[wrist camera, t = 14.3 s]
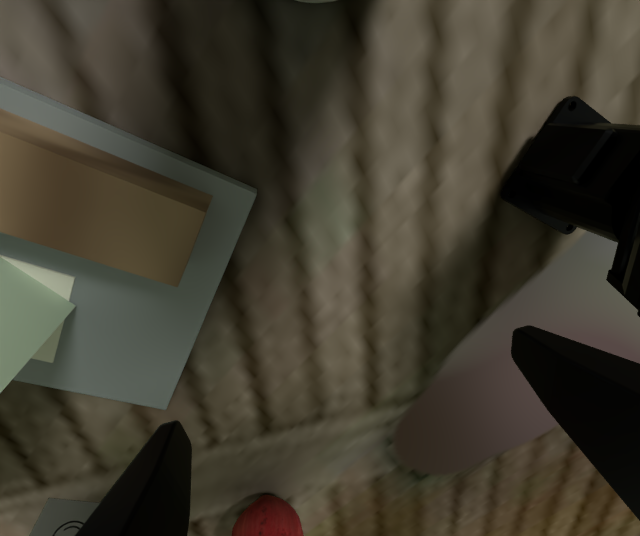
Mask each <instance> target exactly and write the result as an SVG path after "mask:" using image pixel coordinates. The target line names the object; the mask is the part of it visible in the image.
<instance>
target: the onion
mask: <svg viewBox="0 0 640 536" xmlns="http://www.w3.org/2000/svg"><path fill="white" fill-rule="evenodd" d="M232 536H304V535H303V531H302V527H301V523H300V519H299V516H298V515H297V513H296V512H295V510H294V509H293V508H292V507H291V506H290V505H289V504H288V503H287V502H285V501H284V500H283V499H280V498H277V497H274V496H271V495H262V496H260V497H259V498H258V499H257V500H256V501H255V502H253V503H252V504H251V505H250V506H249V507H248V508H247V509H246V510H245V511H244V512H243V513H242V514H241V515H240V517H239V518H238V519H237V521H236V523H235V525H234V527H233V531H232Z"/></svg>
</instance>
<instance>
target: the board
mask: <svg viewBox="0 0 640 536" xmlns="http://www.w3.org/2000/svg"><path fill="white" fill-rule="evenodd" d="M0 108H1V109H3V110H6V111H8V112H11V113H13V114H15V115H18V116H20V117H23V118H25V119H28V120H30V121H32V122H35V123H37V124H40V125H42V126H45V127H47V128H49V129H52V130H54V131H57V132H59V133H62V134H64V135H66V136H69V137H71V138H74V139H76V140H79V141H81V142H83V143H86V144H88V145H91V146H93V147H95V148H98V149H100V150H103V151H105V152H108V153H110V154H112V155H115V156H117V157H120V158H122V159H125V160H127V161H129V162H132V163H134V164H137V165H139V166H142V167H144V168H146V169H149V170H151V171H154V172H156V173H159V174H161V175H163V176H166V177H168V178H171V179H173V180H176V181H178V182H180V183H183V184H185V185H188V186H190V187H192V188H195V189H197V190H200V191H202V192H205V193H207V194H209V195H212V196H213V197H212V200H211V203H210V205H209V208H208V211H207V213H206V216H205V219H204V221H203V224H202V226H201V229H200V232H199V234H198V237H197V240H196V242H195V245H194V248H193V250H192V253H191V256H190V258H189V261H188V263H187V266H186V268H185V271H184V273H183V276H182V278H181V281H180V283H179V285H178V287H174V286H171V285H168V284H165V283H162V282H158V281H155V280H152V279H149V278H146V277H142V276H139V275H136V274H133V273H130V272H126V271H123V270H120V269H117V268H114V267H110V266H107V265H104V264H101V263H98V262H94V261H91V260H88V259H85V258H82V257H78V256H75V255H72V254H69V253H66V252H62V251H59V250H56V249H53V248H50V247H46V246H43V245H40V244H37V243H34V242H30V241H27V240H24V239H21V238H18V237H15V236H11V235H8V234H5V233H2V232H0V257H1V258H3V259H5V260H6V261H8V262H9V263H11V264H12V265H14V266H15V267H17V268H18V269H20V270H22V271H23V272H25V273H26V274H28V275H29V276H31V277H32V278H34V279H35V280H37V281H39V282H40V283H42V284H43V285H45V286H46V287H48V288H49V289H51V290H52V291H54V292H56V293H57V294H59V295H60V296H62V297H63V298H65V299H66V300H68V301H69V302H71V303H73V304H74V305H76V307H75V308H74V309H73V310H72V311H71V312H70V313H69V315H68V316H67V317H66V318H65V319H64V320H63V322H62V323H61V324H60V325H59V326H58V327H57V328H56V330H55V331H54V332H53V333H52V334H51V335H50V337H49V338H48V339H47V340H46V341H45V342H44V343H43V345H42V346H41V347H40V348H39V349H38V350H37V351H36V353H35V354H34V355H33V356H32V357H31V358H30V360H29V361H28V362H27V363H26V364H25V365H24V366H23V368H22V369H21V370H20V371H19V372H18V373H17V375H16V376H15V377H14V378H13V379H12V380H15V381H20V382H25V383H30V384H36V385H41V386H46V387H51V388H56V389H61V390H66V391H71V392H76V393H81V394H87V395H92V396H97V397H102V398H107V399H112V400H117V401H122V402H127V403H132V404H138V405H143V406H148V407H153V408H158V409H163V410H166V409H167V406H168V404H169V402H170V399H171V397H172V395H173V392H174V390H175V387H176V385H177V383H178V380H179V378H180V376H181V373H182V371H183V368H184V366H185V364H186V361H187V359H188V357H189V354H190V352H191V350H192V347H193V345H194V342H195V340H196V338H197V335H198V333H199V331H200V328H201V326H202V323H203V321H204V319H205V316H206V314H207V312H208V309H209V307H210V304H211V302H212V300H213V297H214V295H215V293H216V290H217V288H218V285H219V283H220V281H221V278H222V276H223V274H224V271H225V269H226V267H227V264H228V262H229V259H230V257H231V255H232V252H233V250H234V248H235V245H236V243H237V240H238V238H239V236H240V233H241V231H242V229H243V226H244V224H245V221H246V219H247V217H248V214H249V212H250V210H251V207H252V205H253V202H254V200H255V198H256V195H257V189H256V188H253V187H251V186H249V185H246V184H244V183H242V182H240V181H237V180H235V179H233V178H230V177H228V176H226V175H224V174H221V173H219V172H217V171H214V170H212V169H210V168H208V167H205V166H203V165H201V164H198V163H196V162H194V161H192V160H189V159H187V158H185V157H183V156H180V155H178V154H176V153H173V152H171V151H169V150H167V149H164V148H162V147H160V146H157V145H155V144H153V143H151V142H148V141H146V140H144V139H141V138H139V137H137V136H135V135H132V134H130V133H128V132H125V131H123V130H121V129H119V128H116V127H114V126H112V125H109V124H107V123H105V122H103V121H100V120H98V119H96V118H93V117H91V116H89V115H87V114H84V113H82V112H80V111H77V110H75V109H73V108H71V107H68V106H66V105H64V104H61V103H59V102H57V101H55V100H52V99H50V98H48V97H45V96H43V95H41V94H39V93H36V92H34V91H32V90H29V89H27V88H25V87H23V86H20V85H18V84H16V83H13V82H11V81H9V80H7V79H4V78H2V77H0Z"/></svg>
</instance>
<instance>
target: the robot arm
mask: <svg viewBox="0 0 640 536" xmlns="http://www.w3.org/2000/svg"><path fill="white" fill-rule="evenodd" d="M570 103H571V106H570V108H569V109H568V106H569V104H570ZM510 191H512V194H511V195H510V196H509V193H510ZM501 197H502V199H503V200H505V201H507V202H508V203H510V204H512V205H514V206H515V207H517V208H519V209H521V210H522V211H524V212H526V213H528V214H529V215H531V216H533V217H535V218H536V219H538V220H540V221H542V222H544V223H545V224H547V225H549V226H551V227H552V228H554V229H556V230H558V231H559V232H561V233H564V234H570V233H572V232H573V231H574V230H575V229H576V228H577V227H578V228H581V229H584V230H586V231H589V232H591V233H594V234H597V235H599V236H602V237H604V238H607V239H609V240H612V241H614V242H617V243H618V245H617V249H616V253H615V257H614V261H613V265H612V268H611V270H609V271H608V275H607V279H606V280H607V281H608V282H609V283H610V284H611V285H612V286H613V287H614V288H615V289H616V290H617V291H618V292H620V293H621V294H622V295H623V296H624V297H625V298H626V299H627V300H628V301H629V302H630V303H631V304H632V305H633V306H634V307H635V308H636V309H638V312H637V314H638V316H639V317H640V125H626V124H611V123H610V122H609V121H608V120H606V119H605V118H604V117H603V116H601V115H600V114H599V113H598V112H596V111H595V110H594V109H592V108H591V107H590V106H589V105H587V104H586V103H585V102H584V101H582V100H581V99H580V98H578V97H576V96H570V97H566V98H564V99H563V100H562V101H561V103H560V104H559V106H558V107H557V109H556V110H555V112H554V113H553V115H552V116H551V118H550V119H549V121H548V122H547V124H546V125H545V127H544V128H543V130H542V131H541V133H540V134H539V136H538V137H537V139H536V140H535V142H534V143H533V145H532V146H531V148H530V149H529V151H528V152H527V154H526V155H525V157H524V158H523V160H522V161H521V163H520V164H519V166H518V167H517V169H516V170H515V172H514V173H513V175H512V176H511V178H510V179H509V181H508V182H507V184H506V185H505V187H504V188H503V190H502V192H501ZM567 226H568V227H567ZM566 227H567V228H566ZM511 354H512V358H513V360H514V362H515V363H516V365H517V366H518V368H519V369H520V371H521V372H522V373H523V375H524V377H525V378H526V379H527V381H528V382H529V384H530V385H531V387H532V388H533V390H534V391H535V392H536V394H537V395H538V397H539V398H540V400H541V401H542V403H543V404H544V406H545V407H546V408H547V410H548V411H549V412H550V414H551V415H552V416H553V417H554V418H555V420H556V421H557V422H558V423H559V425H560V426H561V427H562V428H563V429H564V431H565V432H566V433H567V434H568V435H569V437H570V438H571V439H572V440H573V441H574V443H575V444H576V445H577V446H578V447H579V449H580V450H581V451H582V452H583V453H584V455H585V456H586V457H587V458H588V459H589V461H590V462H591V463H592V464H593V465H594V467H595V468H596V469H597V470H598V471H599V473H600V474H601V475H602V476H603V477H604V479H605V480H606V481H607V482H608V483H609V485H610V486H611V487H612V488H613V489H614V491H615V492H616V493H617V494H618V495H619V497H620V498H621V499H622V500H623V501H624V503H625V504H626V505H627V506H628V507H629V509H630V510H631V511H632V512H633V513H634V515H635V516H636V517H637V518H638V519H639V521H640V364H639V363H636V362H633V361H630V360H628V359H624V358H622V357H619V356H616V355H613V354H610V353H607V352H605V351H602V350H599V349H596V348H593V347H590V346H588V345H585V344H582V343H579V342H576V341H573V340H570V339H568V338H565V337H562V336H559V335H556V334H553V333H550V332H548V331H545V330H542V329H539V328H536V327H534V326H524V327H520V328H517V329H515V330H514V331H513V336H512V347H511ZM191 460H192V447H191V442H190V440H189V438H188V436H187V434H186V432H185V430H184V428H183V427H182V425H181V423H180V422H179V421H176V420H175V421H171V422H168V423H164V424H162V425H160V426H159V427H158V428H157V430H156V431H155V432H154V434H153V435H152V436H151V438H150V439H149V440H148V441H147V443H146V444H145V445H144V447H143V448H142V449H141V450H140V452H139V453H138V454H137V456H136V457H135V458H134V459H133V461H132V462H131V463H130V465H129V466H128V467H127V469H126V470H125V471H124V472H123V474H122V475H121V476H120V478H119V479H118V480H117V481H116V483H115V484H114V485H113V487H112V488H111V489H110V490H109V492H108V493H107V494H106V496H105V497H104V498H103V500H102V501H101V502H100V503H99V505H98V506H97V507H96V509H95V510H94V511H93V512H92V514H91V515H90V516H89V518H88V519H87V520H86V521H85V523H84V524H83V525H82V527H81V528H80V529H79V530H78V532H77V533H76V534H75V536H187V533H188V526H189V516H190V495H191Z"/></svg>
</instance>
